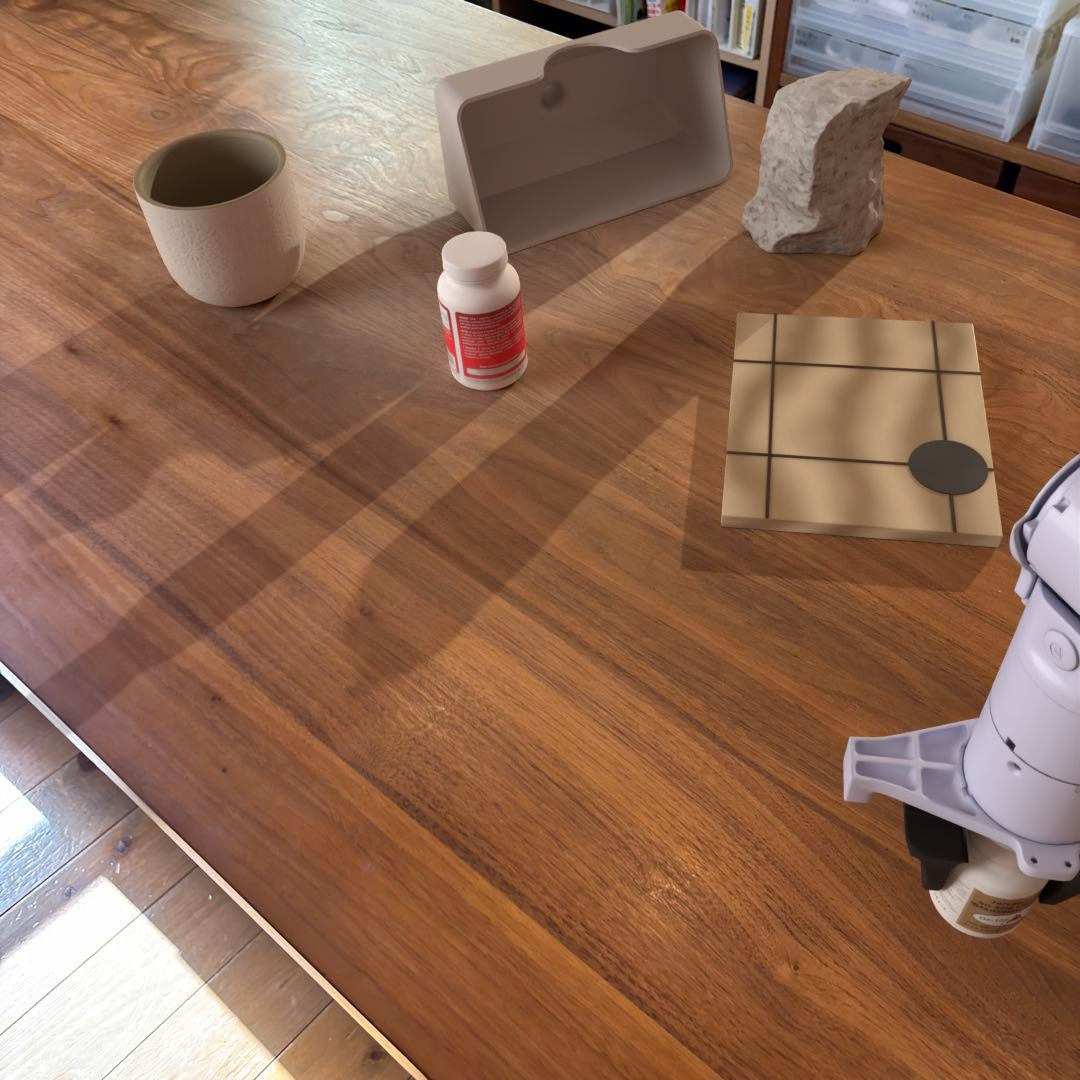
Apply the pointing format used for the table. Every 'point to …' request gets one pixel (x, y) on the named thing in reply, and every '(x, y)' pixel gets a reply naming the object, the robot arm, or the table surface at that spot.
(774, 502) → the board
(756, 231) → the decorative stone
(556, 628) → the table surface
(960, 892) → the pill bottle
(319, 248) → the table surface
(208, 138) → the planter
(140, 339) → the table surface
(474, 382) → the pill bottle
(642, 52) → the grey storage bin
